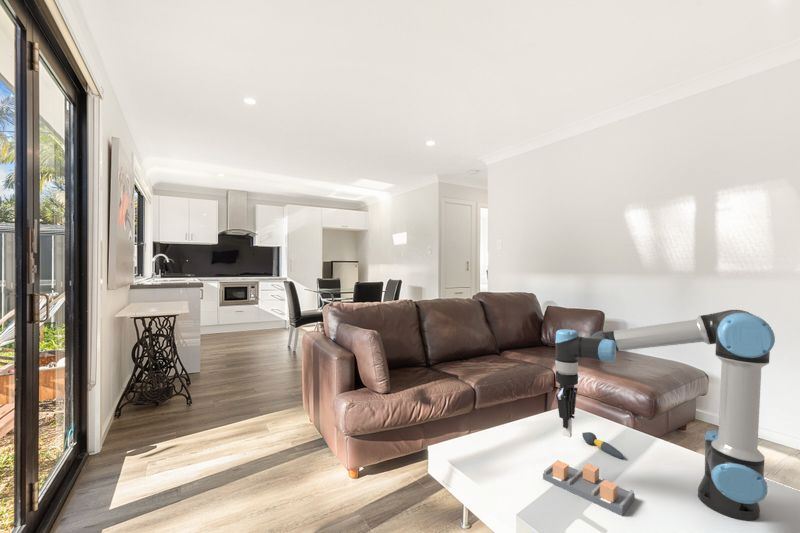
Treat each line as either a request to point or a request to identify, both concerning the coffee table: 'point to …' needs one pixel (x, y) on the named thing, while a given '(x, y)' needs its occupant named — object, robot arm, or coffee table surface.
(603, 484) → the tab
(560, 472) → the tan cube
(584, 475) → the peach cube
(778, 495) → the coffee table surface
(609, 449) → the paintbrush
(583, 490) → the switch bank
